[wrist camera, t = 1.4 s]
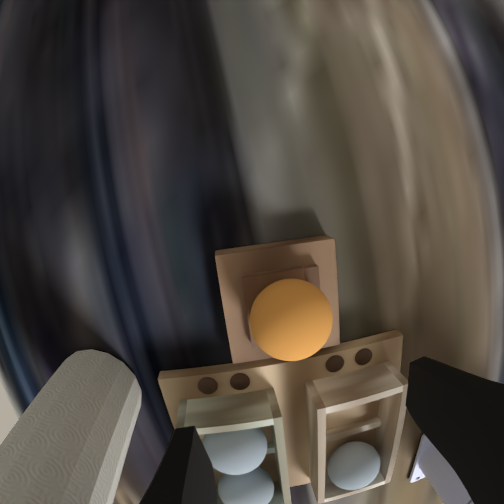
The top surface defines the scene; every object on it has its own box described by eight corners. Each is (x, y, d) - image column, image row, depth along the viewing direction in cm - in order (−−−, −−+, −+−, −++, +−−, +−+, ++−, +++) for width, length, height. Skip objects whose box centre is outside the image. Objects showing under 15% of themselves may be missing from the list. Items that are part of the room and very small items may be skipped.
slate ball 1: (259, 399, 19) (268, 440, 15) (265, 441, 20) (274, 481, 16) (197, 407, 19) (194, 449, 15) (209, 448, 20) (209, 489, 16)
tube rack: (396, 329, 20) (426, 354, 16) (381, 453, 23) (399, 482, 19) (160, 371, 19) (149, 408, 15) (202, 489, 22) (202, 524, 18)
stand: (325, 234, 19) (338, 240, 16) (331, 334, 20) (343, 348, 18) (215, 250, 18) (214, 258, 16) (231, 351, 19) (233, 369, 17)
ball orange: (316, 264, 17) (343, 285, 13) (321, 331, 18) (345, 366, 14) (241, 275, 17) (248, 301, 13) (251, 344, 18) (260, 383, 14)
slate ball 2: (267, 449, 20) (275, 489, 16) (272, 480, 21) (279, 517, 17) (212, 457, 20) (213, 497, 16) (222, 486, 21) (224, 524, 17)
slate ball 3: (371, 425, 21) (392, 458, 17) (366, 457, 21) (384, 489, 18) (321, 439, 20) (336, 476, 16) (321, 470, 21) (334, 505, 17)
